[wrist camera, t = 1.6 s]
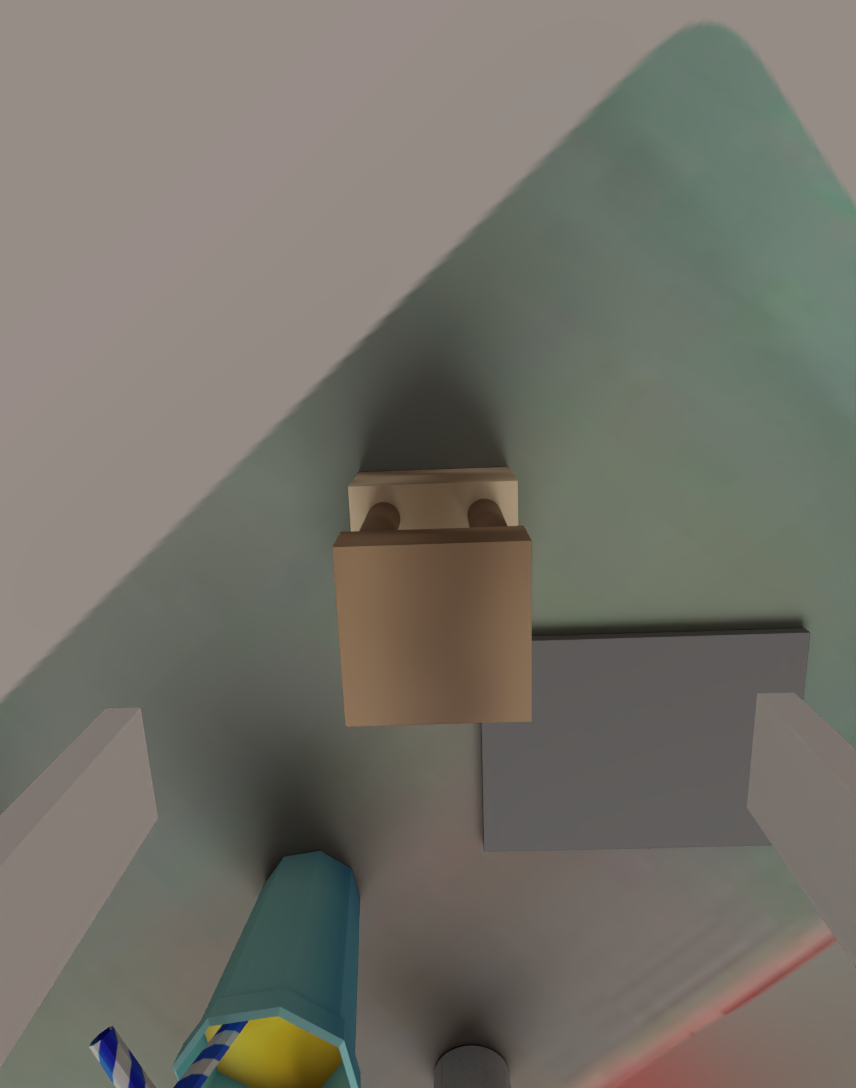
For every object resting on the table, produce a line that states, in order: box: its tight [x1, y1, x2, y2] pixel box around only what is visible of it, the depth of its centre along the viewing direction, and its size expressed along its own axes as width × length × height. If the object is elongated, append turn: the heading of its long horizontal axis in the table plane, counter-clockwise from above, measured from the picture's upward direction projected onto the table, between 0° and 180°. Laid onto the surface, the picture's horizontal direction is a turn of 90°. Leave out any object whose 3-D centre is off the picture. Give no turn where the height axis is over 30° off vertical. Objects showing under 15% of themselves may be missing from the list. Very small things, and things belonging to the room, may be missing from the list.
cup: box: [89, 851, 361, 1088], centre depth 31 cm, size 14×8×15 cm, turn 34°
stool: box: [332, 499, 532, 727], centre depth 25 cm, size 6×6×8 cm
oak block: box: [348, 467, 518, 532], centre depth 31 cm, size 7×7×4 cm
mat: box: [481, 628, 810, 852], centre depth 35 cm, size 16×12×1 cm
